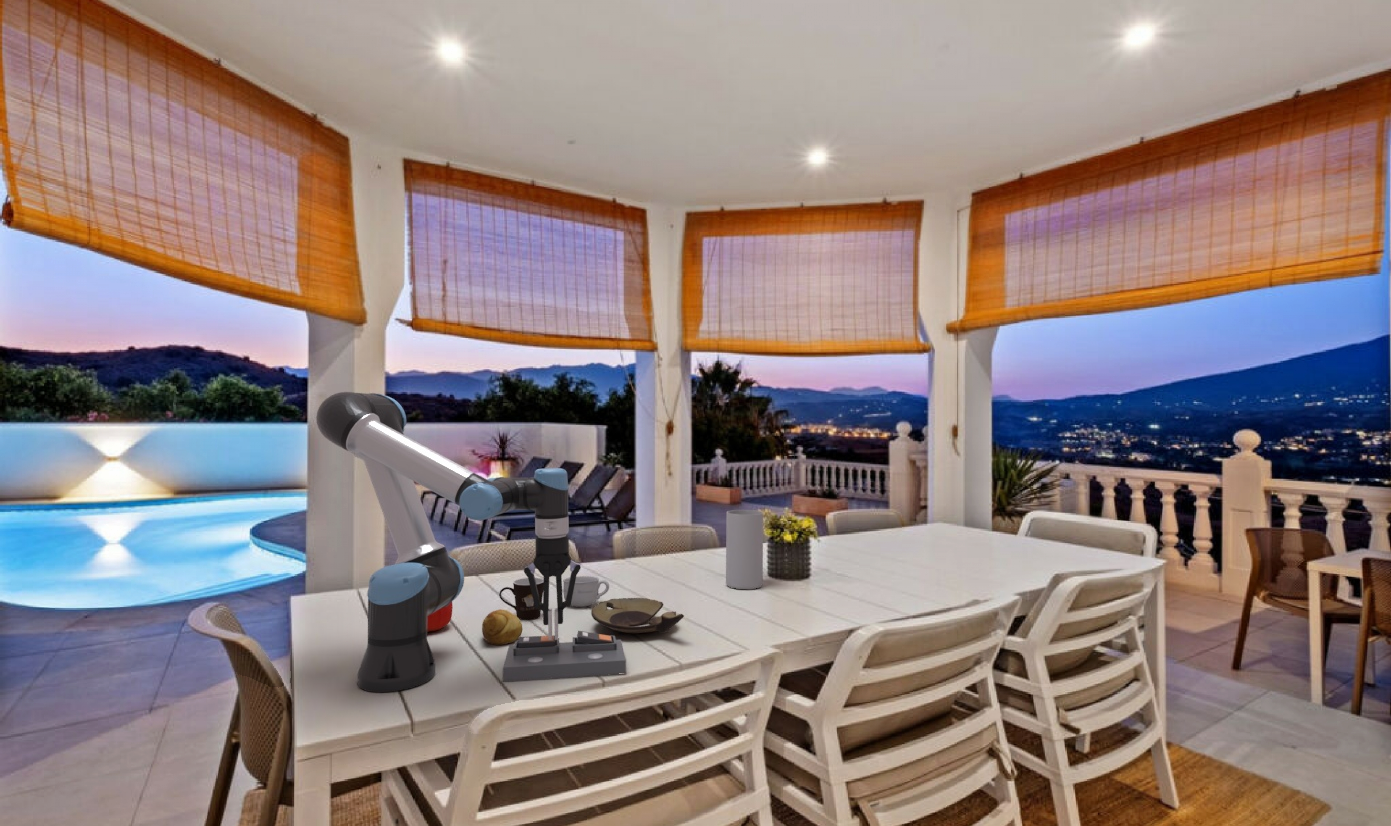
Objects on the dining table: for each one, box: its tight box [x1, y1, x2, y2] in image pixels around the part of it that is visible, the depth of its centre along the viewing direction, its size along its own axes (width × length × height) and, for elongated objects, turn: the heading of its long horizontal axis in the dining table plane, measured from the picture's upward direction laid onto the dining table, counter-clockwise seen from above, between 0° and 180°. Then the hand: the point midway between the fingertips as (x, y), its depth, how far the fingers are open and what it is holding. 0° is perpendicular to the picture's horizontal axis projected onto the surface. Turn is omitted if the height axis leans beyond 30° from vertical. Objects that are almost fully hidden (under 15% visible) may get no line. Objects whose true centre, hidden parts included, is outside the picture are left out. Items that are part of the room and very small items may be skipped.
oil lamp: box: [590, 597, 685, 634], centre depth 174 cm, size 22×30×8 cm
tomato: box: [427, 601, 453, 633], centre depth 173 cm, size 14×13×10 cm
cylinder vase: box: [725, 509, 764, 590], centre depth 223 cm, size 12×12×25 cm
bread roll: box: [481, 608, 523, 646], centre depth 166 cm, size 13×10×8 cm
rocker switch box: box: [502, 635, 627, 683], centre depth 148 cm, size 26×14×4 cm, turn 101°
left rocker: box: [518, 634, 555, 648], centre depth 150 cm, size 8×4×1 cm, turn 101°
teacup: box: [562, 575, 610, 608], centre depth 198 cm, size 14×11×8 cm
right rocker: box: [576, 630, 613, 644], centre depth 152 cm, size 8×4×1 cm, turn 100°
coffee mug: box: [498, 577, 544, 621], centre depth 185 cm, size 12×9×10 cm
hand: (553, 638), depth 150 cm, fingers closed, pressing on left rocker
